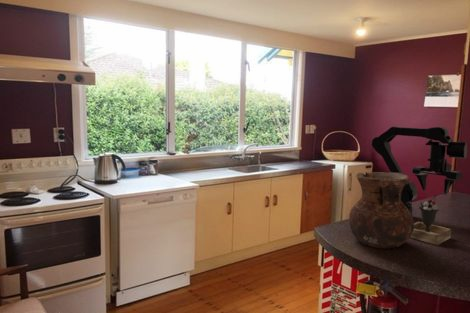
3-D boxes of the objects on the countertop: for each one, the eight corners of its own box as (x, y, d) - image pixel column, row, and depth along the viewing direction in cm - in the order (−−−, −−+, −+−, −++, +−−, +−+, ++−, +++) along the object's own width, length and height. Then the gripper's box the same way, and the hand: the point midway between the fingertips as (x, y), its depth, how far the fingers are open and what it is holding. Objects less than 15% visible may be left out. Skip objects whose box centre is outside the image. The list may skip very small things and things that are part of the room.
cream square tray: (404, 236, 139) (404, 227, 139) (417, 230, 147) (418, 221, 146) (437, 245, 130) (438, 235, 129) (450, 238, 138) (451, 229, 137)
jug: (335, 235, 138) (339, 170, 135) (379, 230, 146) (383, 168, 143) (377, 257, 118) (382, 181, 115) (426, 249, 125) (432, 178, 122)
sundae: (441, 236, 137) (444, 196, 135) (428, 238, 134) (431, 198, 132) (426, 230, 143) (428, 193, 141) (413, 232, 140) (416, 194, 138)
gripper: (470, 157, 152) (467, 194, 154) (426, 153, 167) (423, 186, 169) (456, 159, 146) (453, 197, 148) (412, 154, 161) (410, 189, 163)
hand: (434, 192), depth 157 cm, fingers open, 9 cm apart
